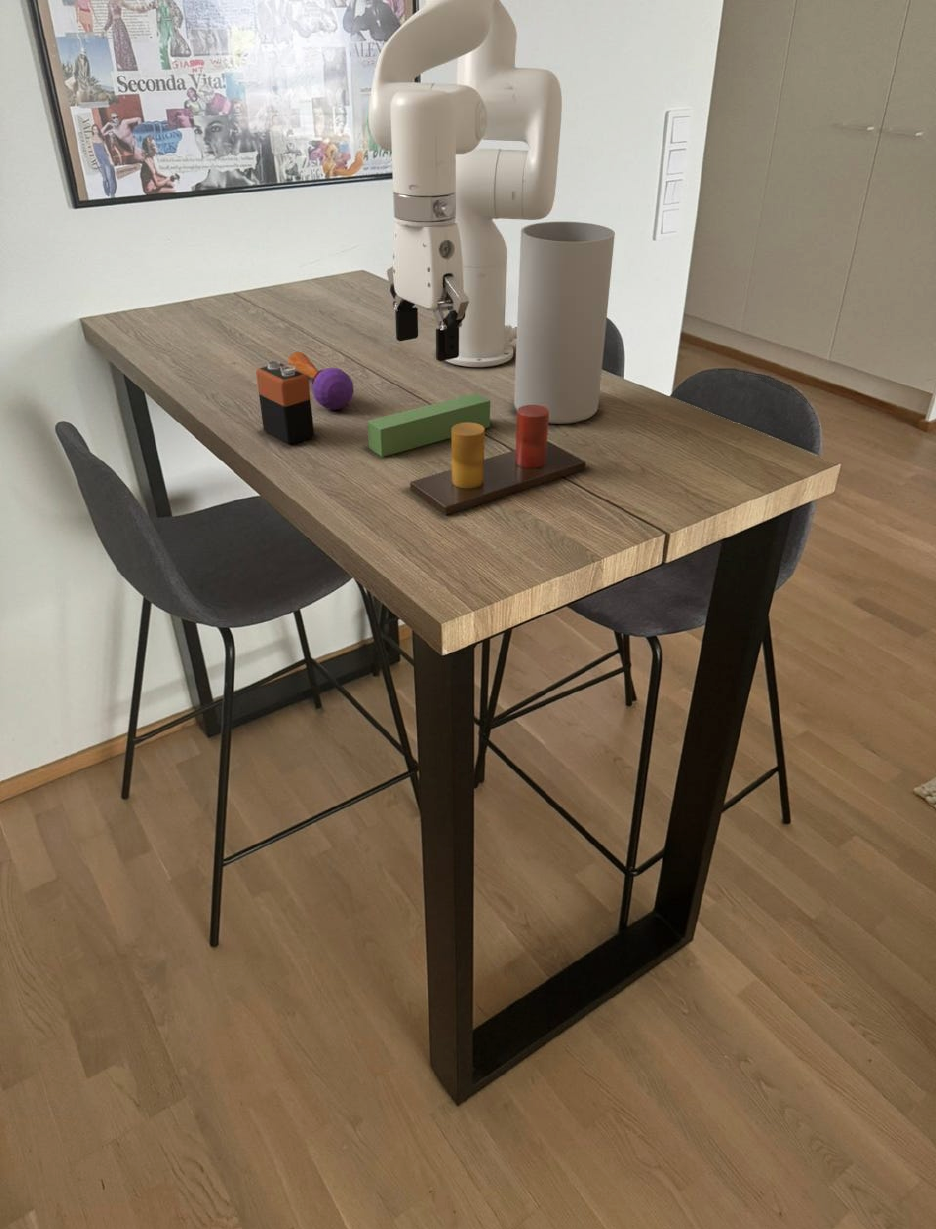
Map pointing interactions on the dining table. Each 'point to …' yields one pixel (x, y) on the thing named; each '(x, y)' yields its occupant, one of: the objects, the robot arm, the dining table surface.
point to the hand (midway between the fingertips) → (426, 348)
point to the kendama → (325, 382)
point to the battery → (285, 402)
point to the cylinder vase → (562, 317)
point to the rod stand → (496, 464)
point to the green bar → (425, 424)
